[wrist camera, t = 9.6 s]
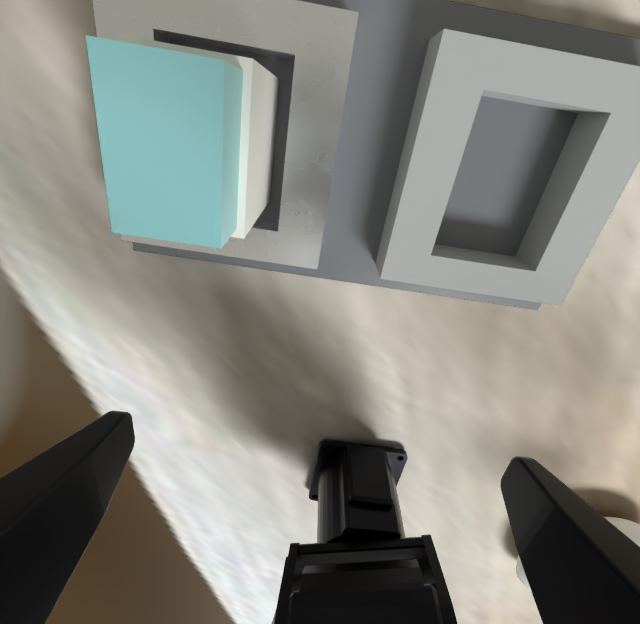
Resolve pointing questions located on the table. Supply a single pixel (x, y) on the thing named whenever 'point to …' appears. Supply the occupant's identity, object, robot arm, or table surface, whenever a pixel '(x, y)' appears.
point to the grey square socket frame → (563, 186)
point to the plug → (182, 139)
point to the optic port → (305, 108)
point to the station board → (391, 128)
